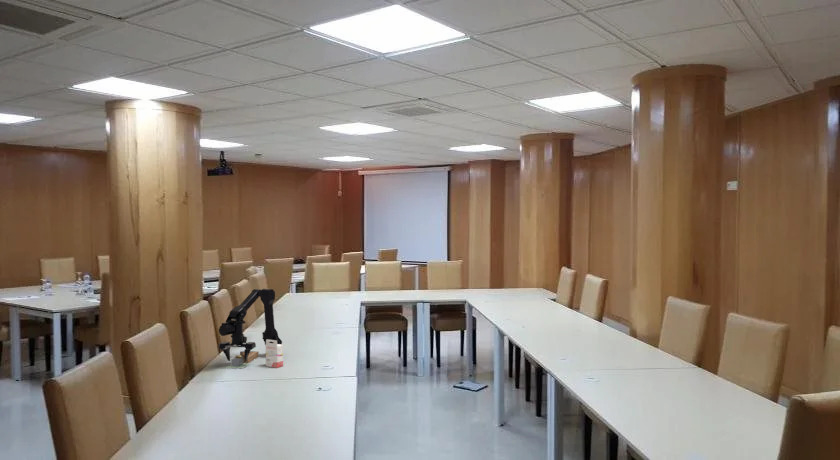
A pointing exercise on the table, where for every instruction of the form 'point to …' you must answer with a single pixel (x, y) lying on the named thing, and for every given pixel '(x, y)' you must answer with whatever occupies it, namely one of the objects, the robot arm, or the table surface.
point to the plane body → (250, 356)
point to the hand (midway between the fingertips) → (237, 361)
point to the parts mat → (239, 366)
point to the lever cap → (237, 361)
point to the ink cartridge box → (274, 354)
